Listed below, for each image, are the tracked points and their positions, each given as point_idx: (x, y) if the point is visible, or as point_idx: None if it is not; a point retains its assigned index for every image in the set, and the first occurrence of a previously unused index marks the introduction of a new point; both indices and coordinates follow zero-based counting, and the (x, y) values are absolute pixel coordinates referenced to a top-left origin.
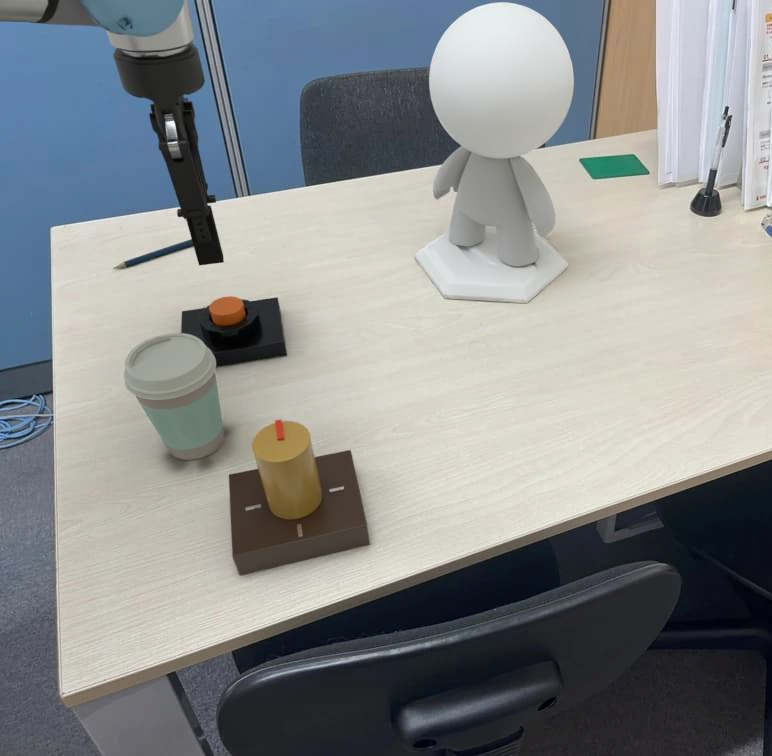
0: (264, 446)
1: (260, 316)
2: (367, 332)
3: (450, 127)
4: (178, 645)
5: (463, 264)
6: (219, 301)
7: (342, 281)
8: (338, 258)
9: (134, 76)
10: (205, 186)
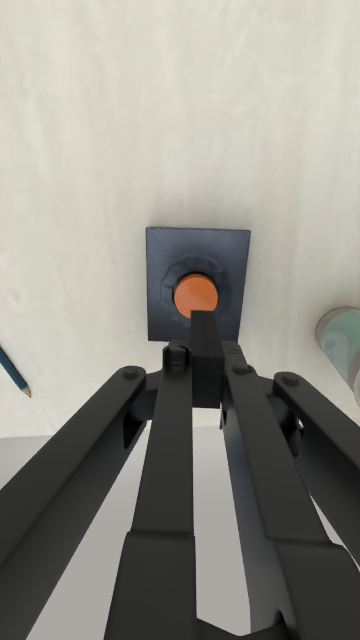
0: None
1: (185, 254)
2: (236, 104)
3: None
4: None
5: None
6: (184, 306)
7: (94, 120)
8: (25, 114)
9: None
10: (160, 381)
